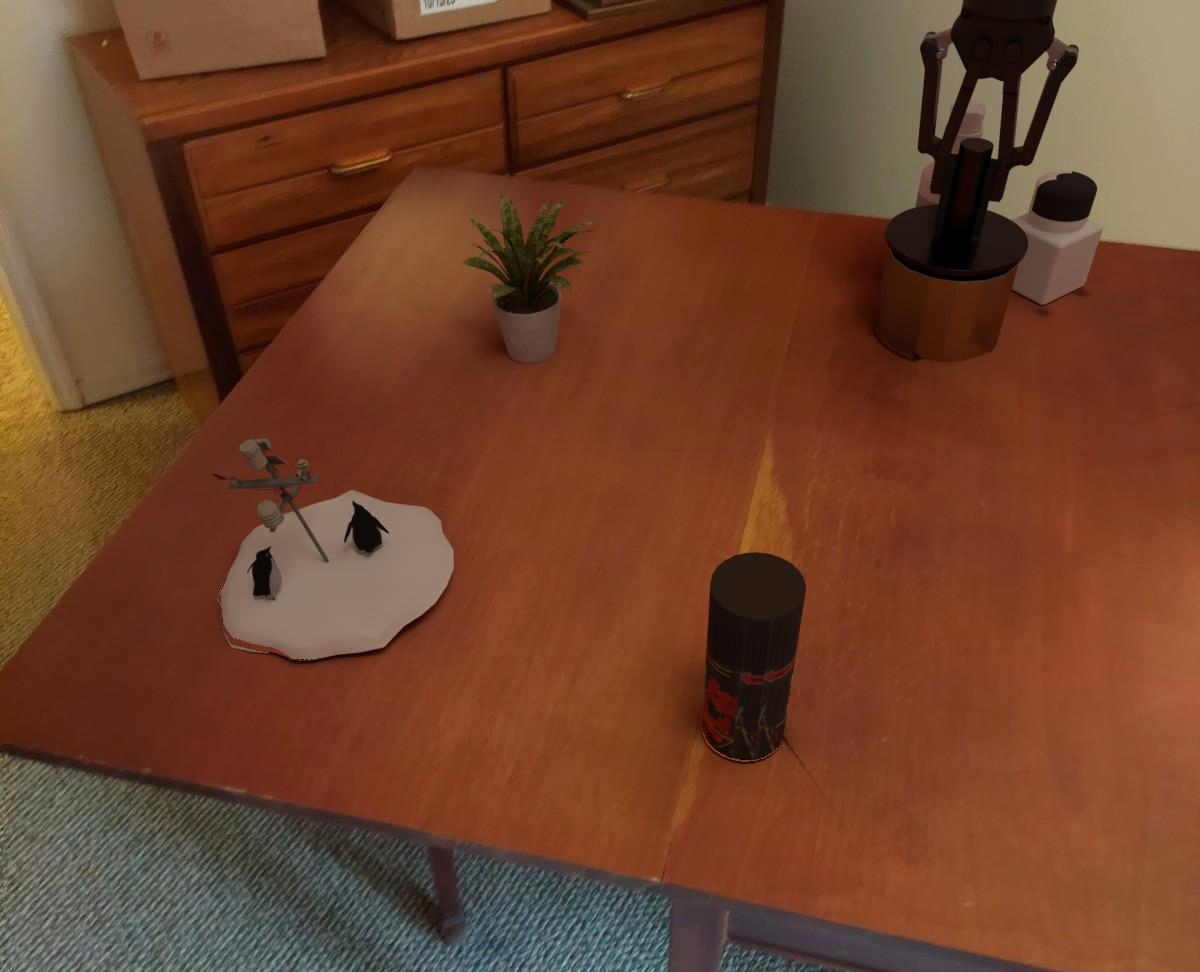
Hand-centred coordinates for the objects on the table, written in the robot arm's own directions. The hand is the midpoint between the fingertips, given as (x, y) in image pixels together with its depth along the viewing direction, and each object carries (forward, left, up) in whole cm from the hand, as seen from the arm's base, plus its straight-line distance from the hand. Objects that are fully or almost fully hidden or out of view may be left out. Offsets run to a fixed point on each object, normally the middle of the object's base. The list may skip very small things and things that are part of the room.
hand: (958, 227), depth 104 cm
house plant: (+15, +40, -12) cm, 44 cm away
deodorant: (-37, +44, -12) cm, 59 cm away
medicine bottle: (+3, -16, -12) cm, 20 cm away
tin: (0, 0, -12) cm, 12 cm away
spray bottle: (+11, -8, -12) cm, 18 cm away
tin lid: (0, 0, -1) cm, 1 cm away
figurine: (-9, +67, -12) cm, 69 cm away
